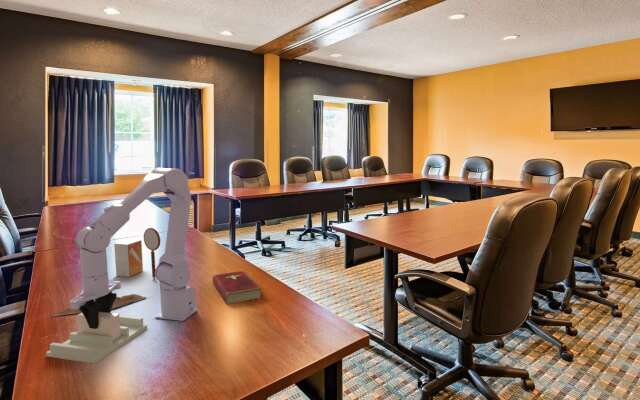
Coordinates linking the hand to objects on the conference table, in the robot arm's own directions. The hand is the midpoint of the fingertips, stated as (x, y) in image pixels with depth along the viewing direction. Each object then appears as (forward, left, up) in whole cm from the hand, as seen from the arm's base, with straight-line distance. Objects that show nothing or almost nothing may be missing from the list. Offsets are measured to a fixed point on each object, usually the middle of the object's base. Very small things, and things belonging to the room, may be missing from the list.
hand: (99, 324), depth 99 cm
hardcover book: (-19, -41, -5) cm, 46 cm away
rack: (0, 0, -4) cm, 4 cm away
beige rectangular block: (0, 0, -3) cm, 3 cm away
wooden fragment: (+17, -19, -5) cm, 26 cm away
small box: (+31, -49, -5) cm, 58 cm away
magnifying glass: (+17, -45, -5) cm, 48 cm away
